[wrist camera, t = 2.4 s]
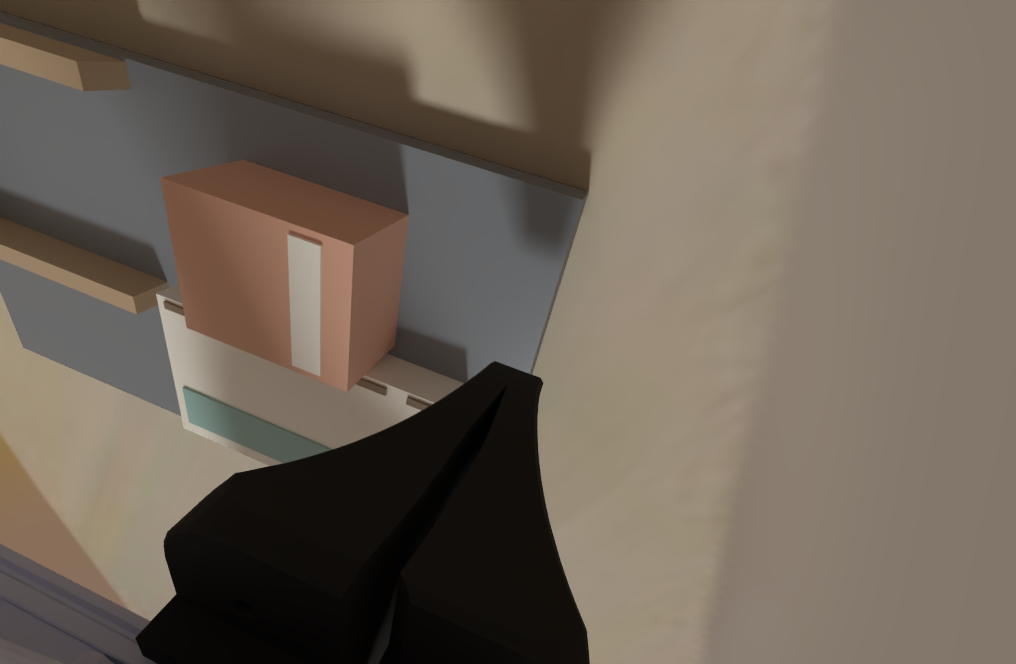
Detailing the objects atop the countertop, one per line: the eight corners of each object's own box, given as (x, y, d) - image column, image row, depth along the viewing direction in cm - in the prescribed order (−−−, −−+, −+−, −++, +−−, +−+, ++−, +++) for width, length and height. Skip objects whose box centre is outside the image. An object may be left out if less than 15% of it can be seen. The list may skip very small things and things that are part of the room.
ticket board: (484, 526, 22) (463, 576, 20) (44, 338, 26) (-14, 363, 24) (588, 191, 14) (571, 215, 12) (-89, -16, 18) (-196, -27, 15)
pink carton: (394, 345, 17) (345, 393, 15) (253, 291, 18) (184, 329, 16) (408, 214, 15) (351, 246, 12) (243, 159, 16) (156, 178, 13)
